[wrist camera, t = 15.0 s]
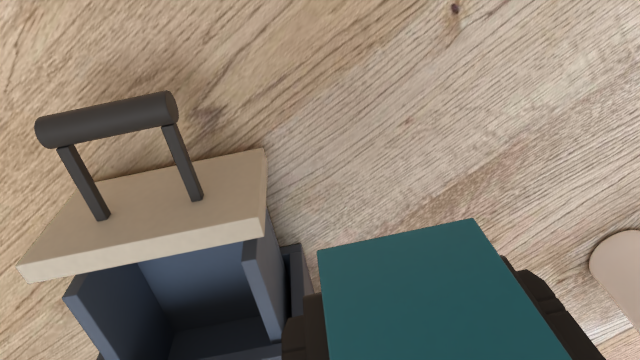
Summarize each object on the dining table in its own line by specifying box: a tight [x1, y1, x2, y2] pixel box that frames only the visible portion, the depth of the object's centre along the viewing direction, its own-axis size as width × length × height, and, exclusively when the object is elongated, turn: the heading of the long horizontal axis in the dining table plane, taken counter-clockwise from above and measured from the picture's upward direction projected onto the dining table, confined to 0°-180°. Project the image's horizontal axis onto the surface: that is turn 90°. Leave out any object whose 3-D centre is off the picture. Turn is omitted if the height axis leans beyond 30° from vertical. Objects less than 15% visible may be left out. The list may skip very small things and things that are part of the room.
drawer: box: [15, 90, 292, 360], centre depth 25 cm, size 19×12×7 cm, turn 11°
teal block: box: [317, 218, 572, 360], centre depth 11 cm, size 4×4×5 cm
